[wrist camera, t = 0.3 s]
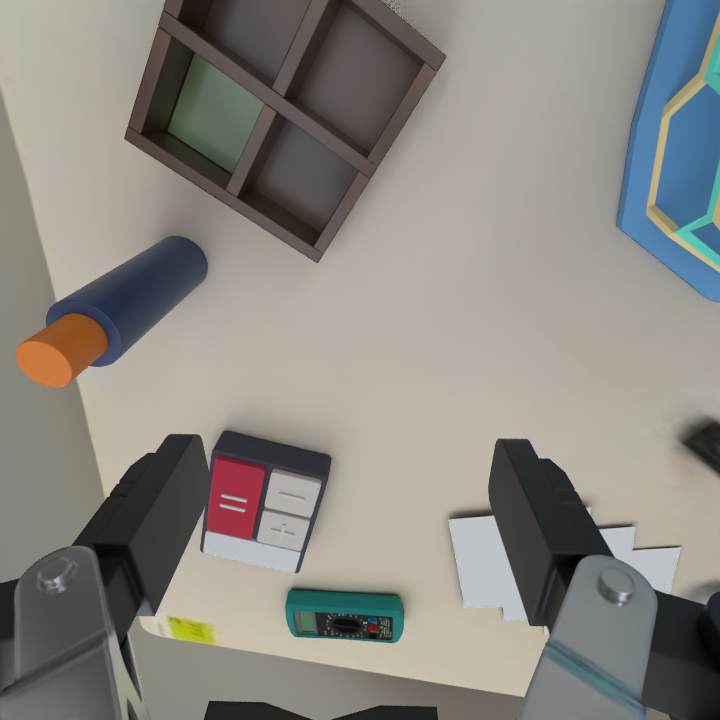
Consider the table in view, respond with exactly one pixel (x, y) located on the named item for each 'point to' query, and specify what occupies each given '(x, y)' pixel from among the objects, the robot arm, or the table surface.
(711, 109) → the stadium
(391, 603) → the digital multimeter
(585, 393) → the table surface
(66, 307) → the bottle
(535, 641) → the table surface
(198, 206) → the table surface
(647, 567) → the paper stack
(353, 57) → the organizer
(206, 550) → the calculator
